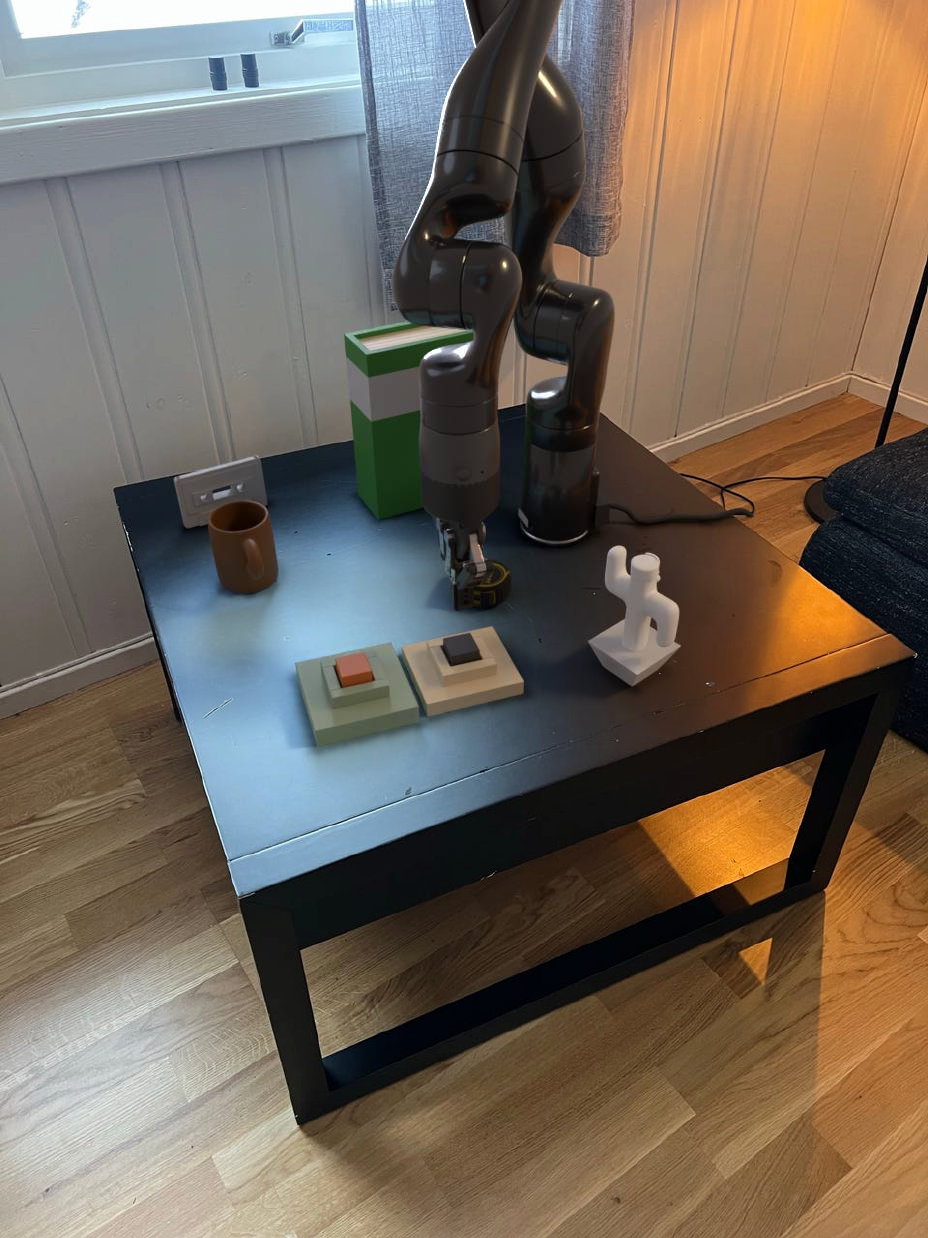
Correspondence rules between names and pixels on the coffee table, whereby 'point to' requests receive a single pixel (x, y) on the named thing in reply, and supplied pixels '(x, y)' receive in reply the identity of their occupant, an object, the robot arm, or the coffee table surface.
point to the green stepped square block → (356, 696)
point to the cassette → (217, 477)
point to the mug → (243, 546)
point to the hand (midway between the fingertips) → (461, 605)
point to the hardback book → (390, 410)
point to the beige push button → (461, 673)
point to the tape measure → (494, 587)
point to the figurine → (637, 619)
